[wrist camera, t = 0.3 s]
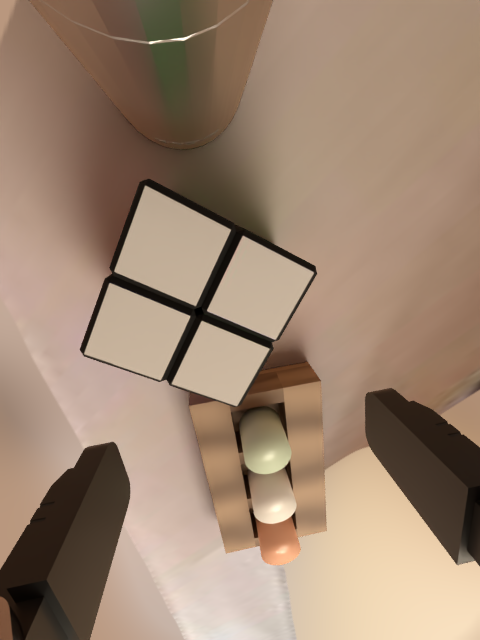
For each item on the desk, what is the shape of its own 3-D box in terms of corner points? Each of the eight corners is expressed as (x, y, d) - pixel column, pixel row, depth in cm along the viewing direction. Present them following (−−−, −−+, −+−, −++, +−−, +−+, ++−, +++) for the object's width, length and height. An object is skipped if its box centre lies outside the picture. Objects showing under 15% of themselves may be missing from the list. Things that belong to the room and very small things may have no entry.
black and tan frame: (124, 302, 25) (75, 357, 15) (167, 189, 22) (139, 173, 13) (227, 343, 27) (240, 412, 18) (277, 247, 24) (322, 269, 15)
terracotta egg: (252, 504, 31) (259, 544, 28) (288, 497, 32) (299, 535, 28) (257, 528, 33) (263, 568, 29) (290, 520, 33) (301, 560, 29)
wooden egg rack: (190, 383, 28) (188, 406, 25) (307, 362, 29) (320, 380, 26) (224, 522, 36) (226, 553, 33) (315, 502, 37) (326, 530, 33)
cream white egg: (245, 461, 29) (251, 498, 25) (283, 453, 29) (295, 489, 25) (250, 488, 30) (256, 527, 27) (286, 481, 31) (297, 518, 27)
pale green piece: (236, 410, 26) (241, 442, 23) (277, 402, 27) (289, 433, 23) (241, 442, 28) (247, 478, 24) (281, 435, 28) (293, 468, 24)
